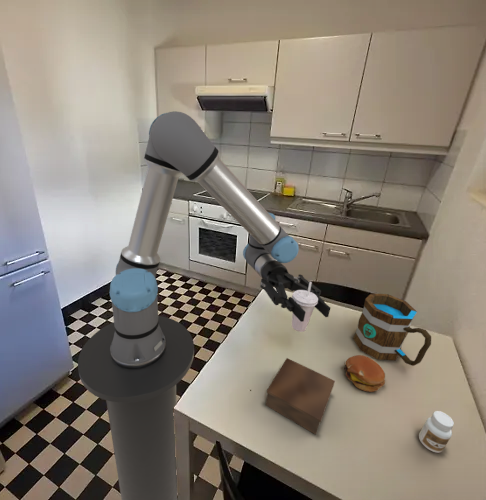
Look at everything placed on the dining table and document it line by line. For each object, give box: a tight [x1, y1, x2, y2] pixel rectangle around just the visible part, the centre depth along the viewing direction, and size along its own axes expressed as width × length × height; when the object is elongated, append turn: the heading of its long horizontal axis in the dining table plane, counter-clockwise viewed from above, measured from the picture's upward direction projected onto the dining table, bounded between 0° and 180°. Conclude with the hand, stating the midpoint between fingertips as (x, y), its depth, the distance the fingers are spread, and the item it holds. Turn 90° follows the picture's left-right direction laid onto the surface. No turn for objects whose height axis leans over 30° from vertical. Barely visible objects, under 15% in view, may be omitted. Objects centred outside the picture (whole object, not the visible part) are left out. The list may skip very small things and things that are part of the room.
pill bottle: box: [418, 410, 455, 454], centre depth 58 cm, size 4×4×8 cm
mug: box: [352, 292, 432, 367], centre depth 82 cm, size 20×14×15 cm
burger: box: [343, 354, 386, 393], centre depth 74 cm, size 10×9×5 cm
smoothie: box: [291, 281, 318, 333], centre depth 72 cm, size 6×6×14 cm
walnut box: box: [265, 357, 336, 436], centre depth 67 cm, size 12×12×5 cm
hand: (315, 314), depth 67 cm, fingers closed on smoothie, 6 cm apart
